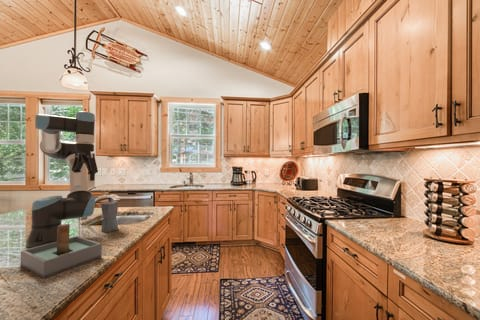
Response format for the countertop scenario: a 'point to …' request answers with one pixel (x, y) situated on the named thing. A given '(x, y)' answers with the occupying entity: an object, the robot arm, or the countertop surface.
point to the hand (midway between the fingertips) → (83, 186)
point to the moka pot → (109, 215)
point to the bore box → (49, 263)
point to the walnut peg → (63, 239)
